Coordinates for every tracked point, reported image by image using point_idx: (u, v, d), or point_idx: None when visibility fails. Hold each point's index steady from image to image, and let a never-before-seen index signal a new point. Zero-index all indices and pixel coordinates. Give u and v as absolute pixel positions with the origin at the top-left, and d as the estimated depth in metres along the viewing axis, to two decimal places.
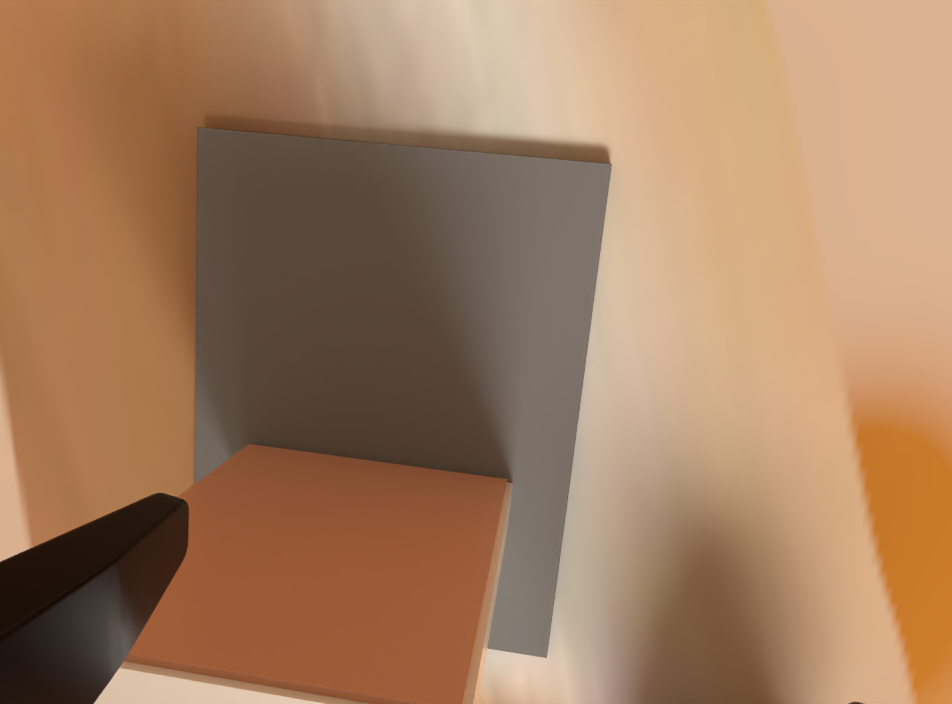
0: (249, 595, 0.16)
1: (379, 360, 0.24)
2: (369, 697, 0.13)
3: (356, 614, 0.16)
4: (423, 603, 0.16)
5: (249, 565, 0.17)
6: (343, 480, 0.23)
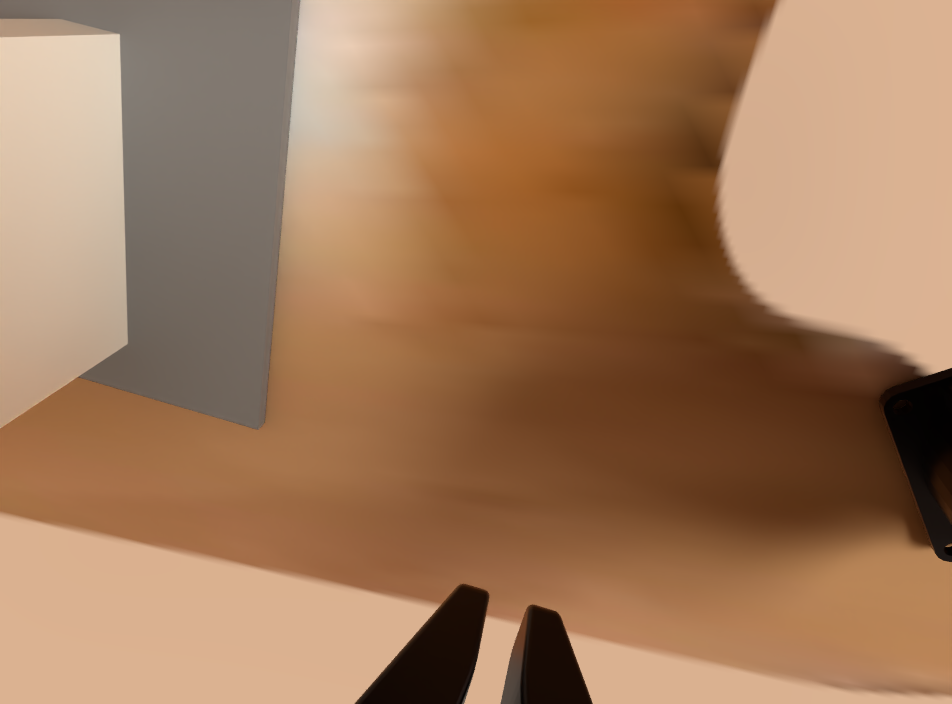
0: None
1: None
2: None
3: None
4: None
5: None
6: None
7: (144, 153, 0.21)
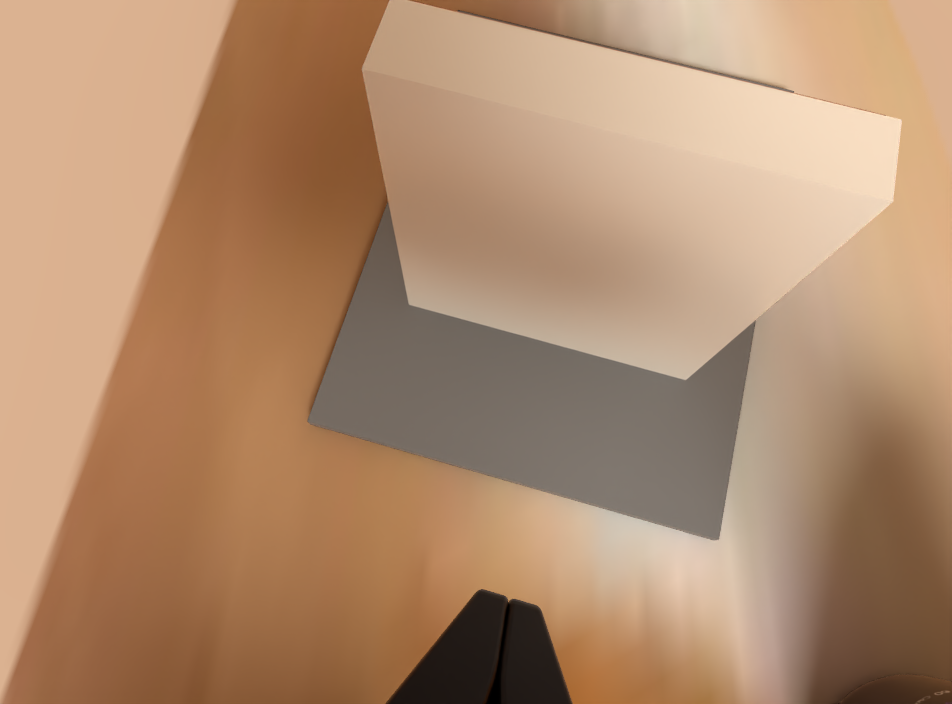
0: None
1: None
2: None
3: None
4: None
5: None
6: None
7: (591, 374, 0.24)
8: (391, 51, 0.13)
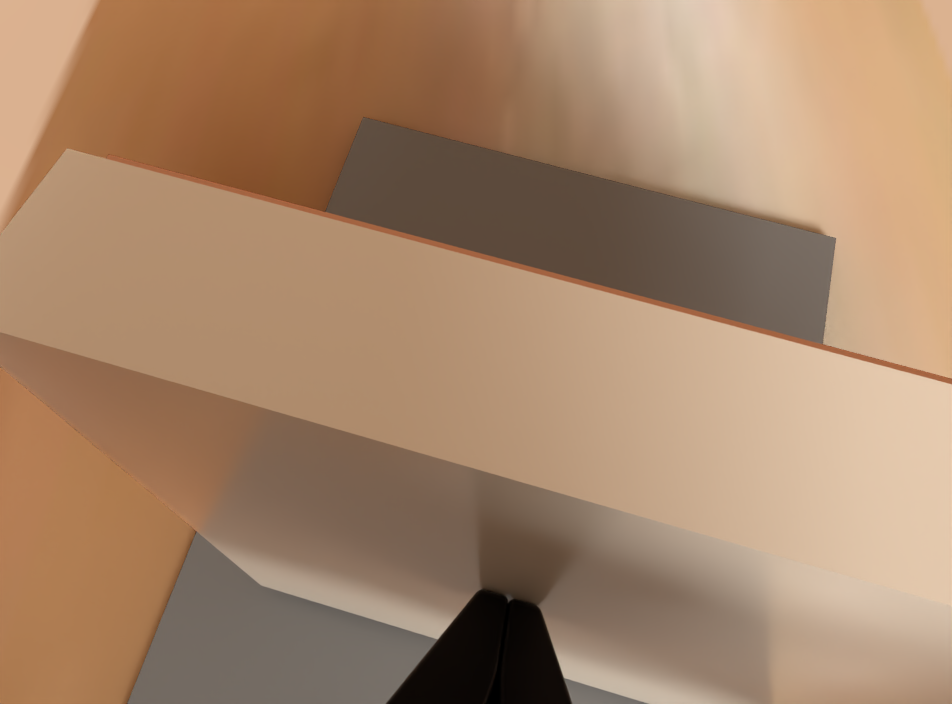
0: None
1: None
2: None
3: None
4: None
5: None
6: None
7: None
8: (28, 272, 0.05)
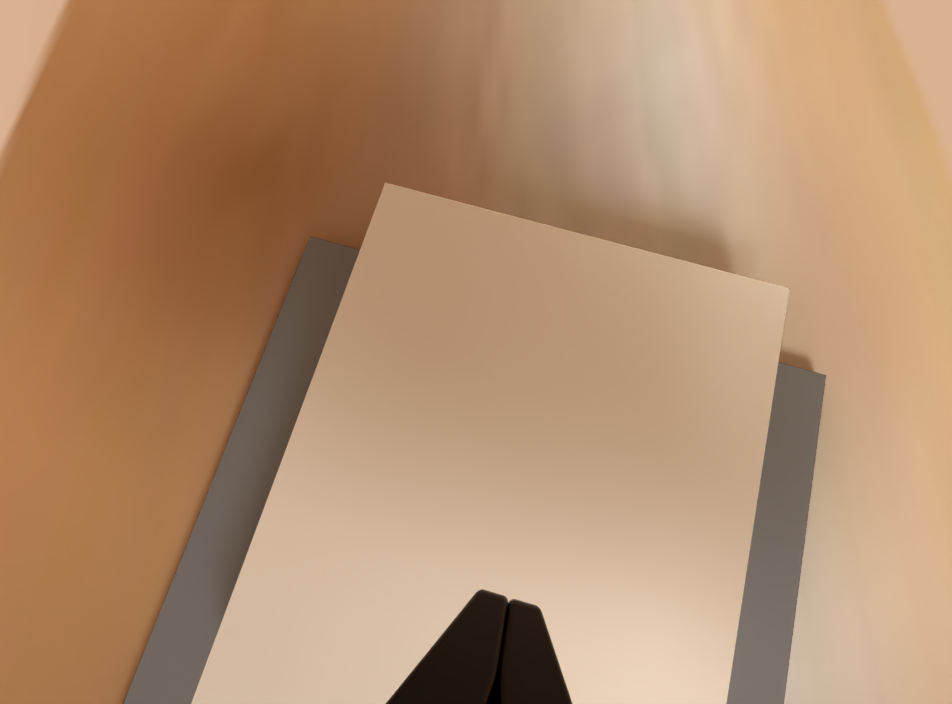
0: None
1: None
2: None
3: None
4: None
5: None
6: None
7: None
8: None
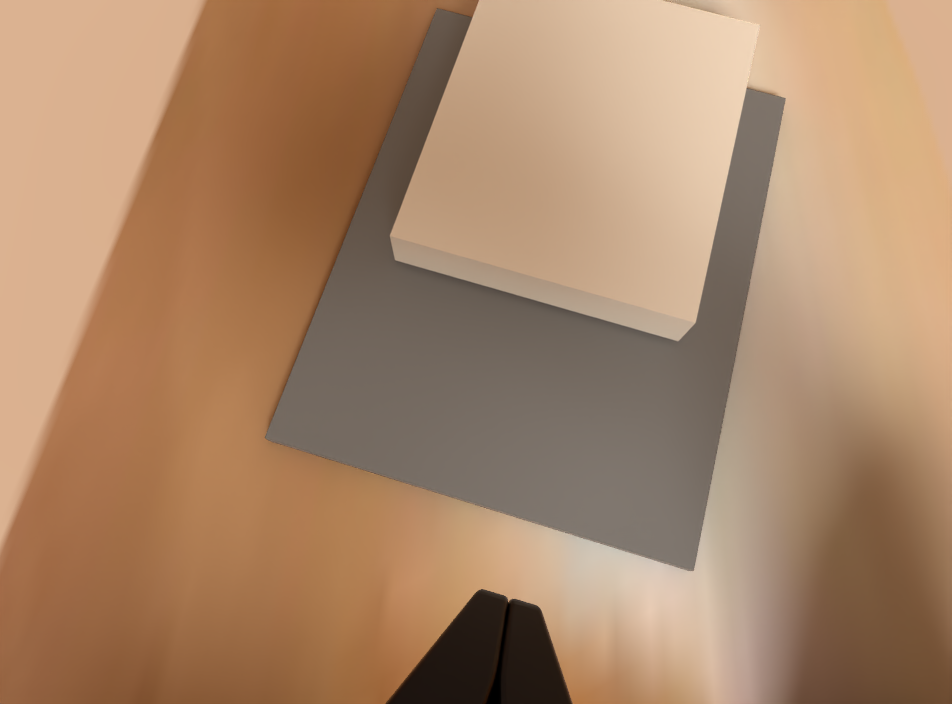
0: None
1: None
2: None
3: None
4: None
5: None
6: None
7: (564, 393, 0.23)
8: None
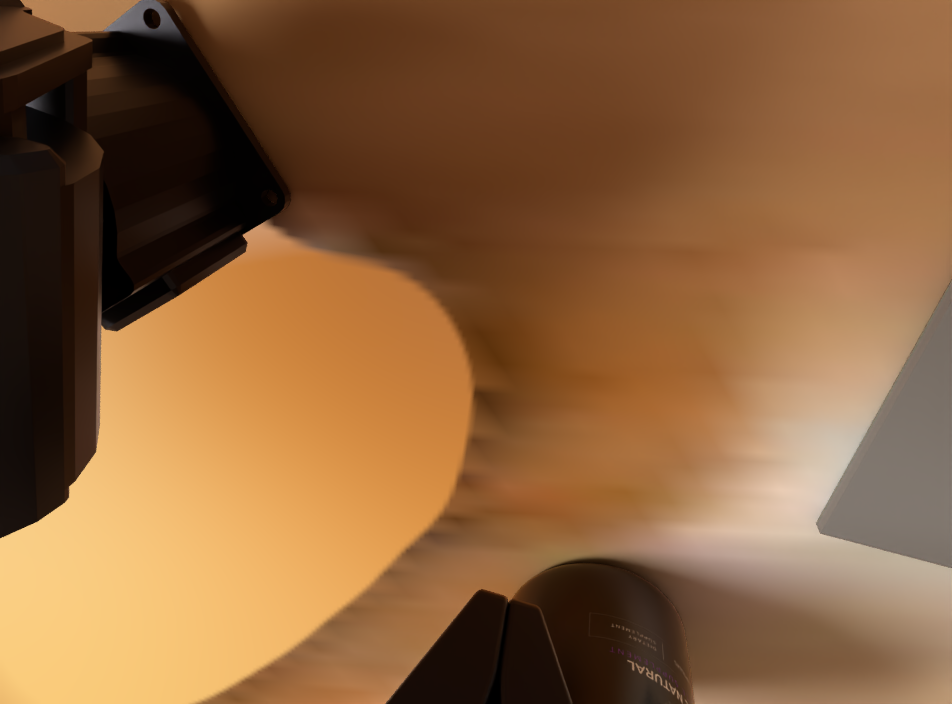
0: None
1: None
2: None
3: None
4: None
5: None
6: None
7: None
8: None
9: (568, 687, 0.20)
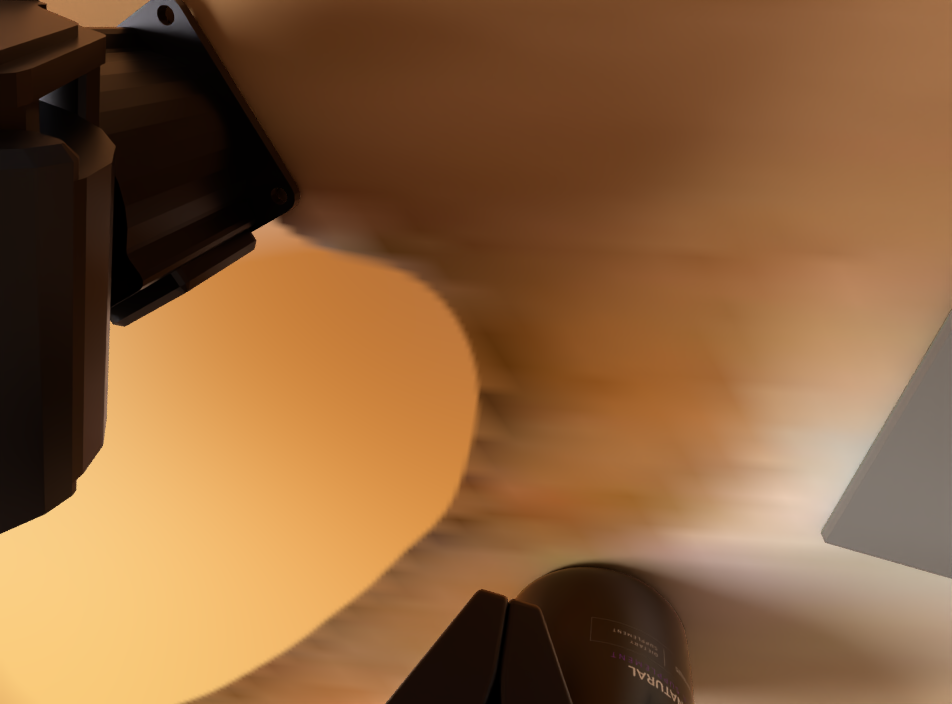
0: None
1: None
2: None
3: None
4: None
5: None
6: None
7: None
8: None
9: (569, 691, 0.20)
